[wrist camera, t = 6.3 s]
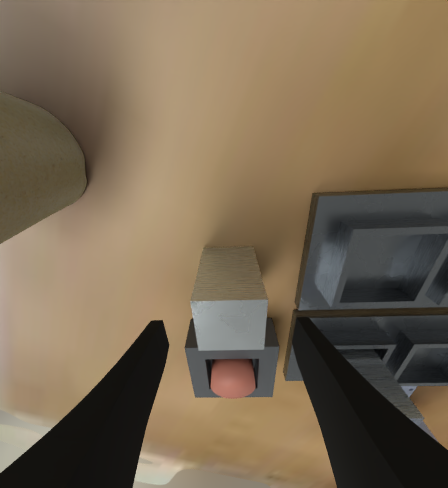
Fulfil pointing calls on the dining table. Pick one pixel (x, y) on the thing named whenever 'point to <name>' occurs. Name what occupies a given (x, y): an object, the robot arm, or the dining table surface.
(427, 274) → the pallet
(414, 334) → the pallet
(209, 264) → the billet
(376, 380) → the billet
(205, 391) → the box
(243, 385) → the button
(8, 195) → the flower pot
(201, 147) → the dining table surface
